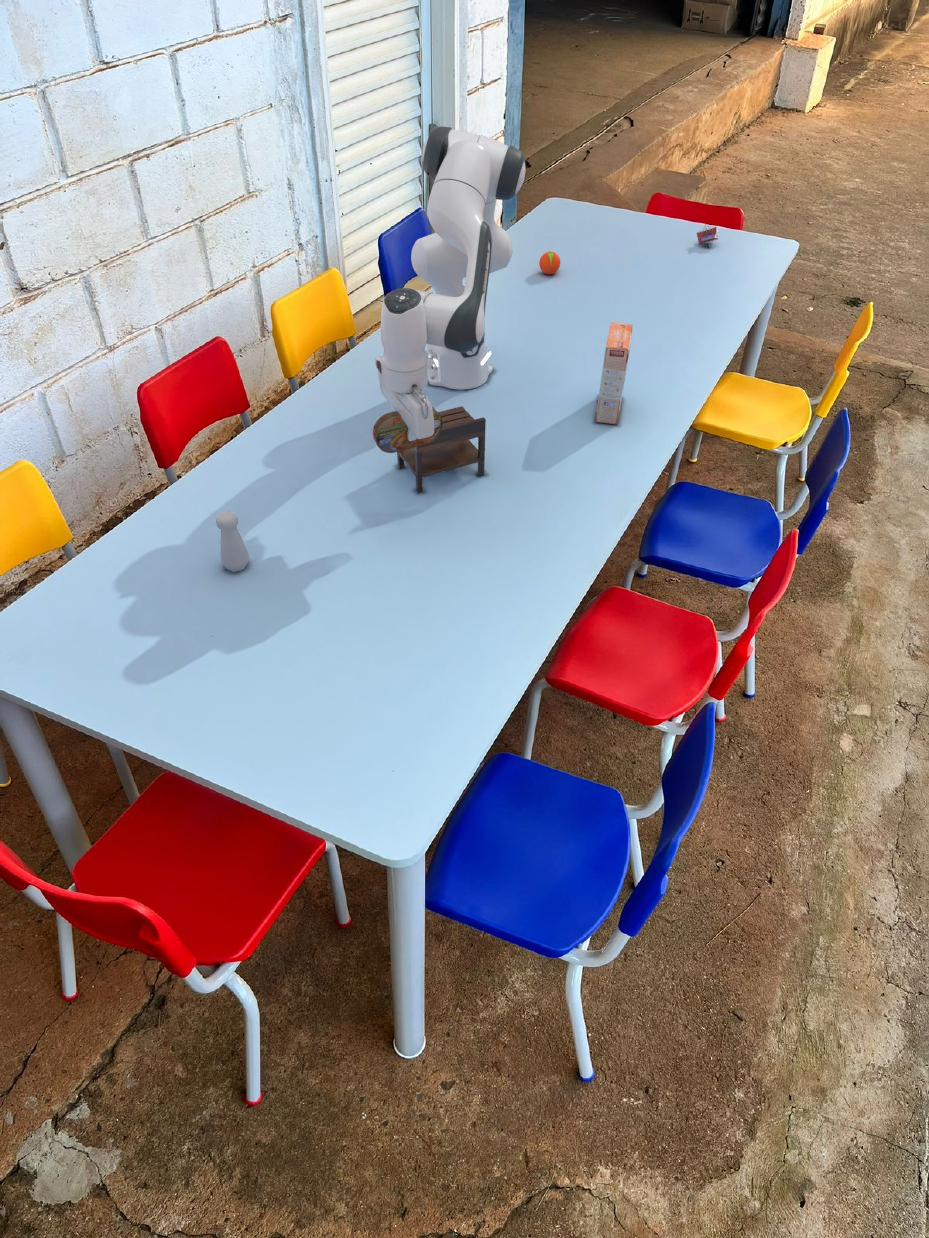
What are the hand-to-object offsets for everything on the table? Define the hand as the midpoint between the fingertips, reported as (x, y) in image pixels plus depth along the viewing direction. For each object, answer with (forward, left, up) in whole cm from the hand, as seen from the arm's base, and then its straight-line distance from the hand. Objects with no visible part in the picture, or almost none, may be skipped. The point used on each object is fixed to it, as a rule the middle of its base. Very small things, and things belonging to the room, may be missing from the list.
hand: (407, 434), depth 187 cm
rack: (-11, +13, -20) cm, 26 cm away
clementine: (-98, +93, -20) cm, 136 cm away
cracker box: (-17, +64, -20) cm, 69 cm away
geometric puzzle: (-96, +155, -20) cm, 183 cm away
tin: (0, 0, -3) cm, 3 cm away
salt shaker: (+2, -40, -20) cm, 45 cm away
